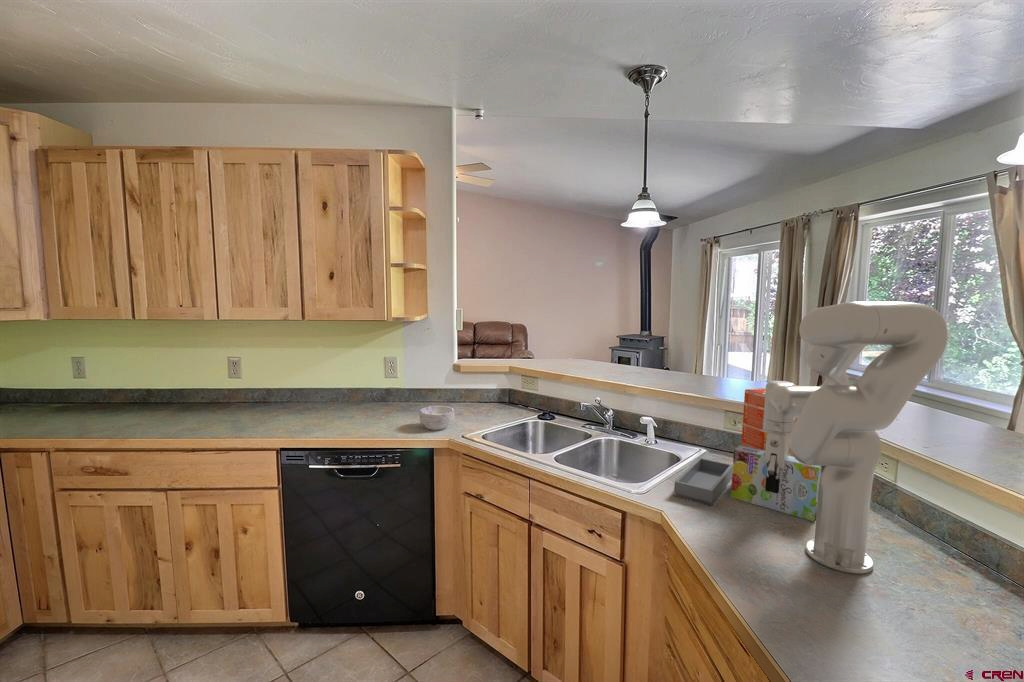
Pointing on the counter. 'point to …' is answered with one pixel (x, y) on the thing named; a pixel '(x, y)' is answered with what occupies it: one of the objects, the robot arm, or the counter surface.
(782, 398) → the robot arm
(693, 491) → the tray
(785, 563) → the counter surface
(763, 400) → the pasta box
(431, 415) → the grey bowl
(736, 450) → the snack box
